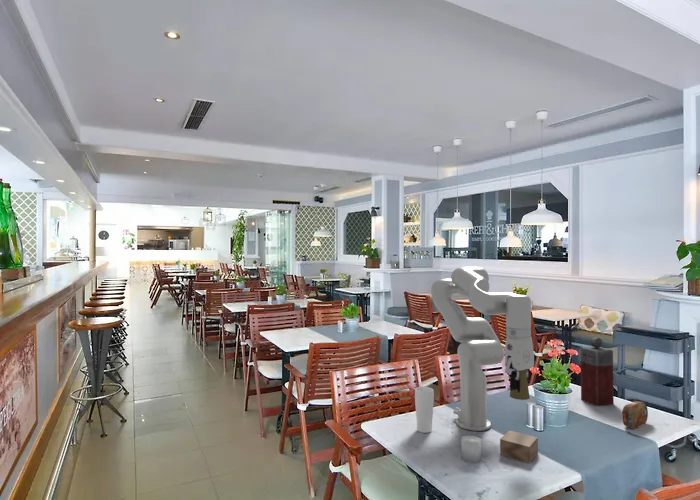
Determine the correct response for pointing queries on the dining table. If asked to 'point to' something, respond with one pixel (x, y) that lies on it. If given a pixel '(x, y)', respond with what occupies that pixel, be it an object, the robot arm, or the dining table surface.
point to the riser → (519, 446)
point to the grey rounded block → (471, 449)
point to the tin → (635, 414)
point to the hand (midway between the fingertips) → (518, 389)
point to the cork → (521, 387)
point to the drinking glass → (424, 408)
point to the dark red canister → (597, 374)
